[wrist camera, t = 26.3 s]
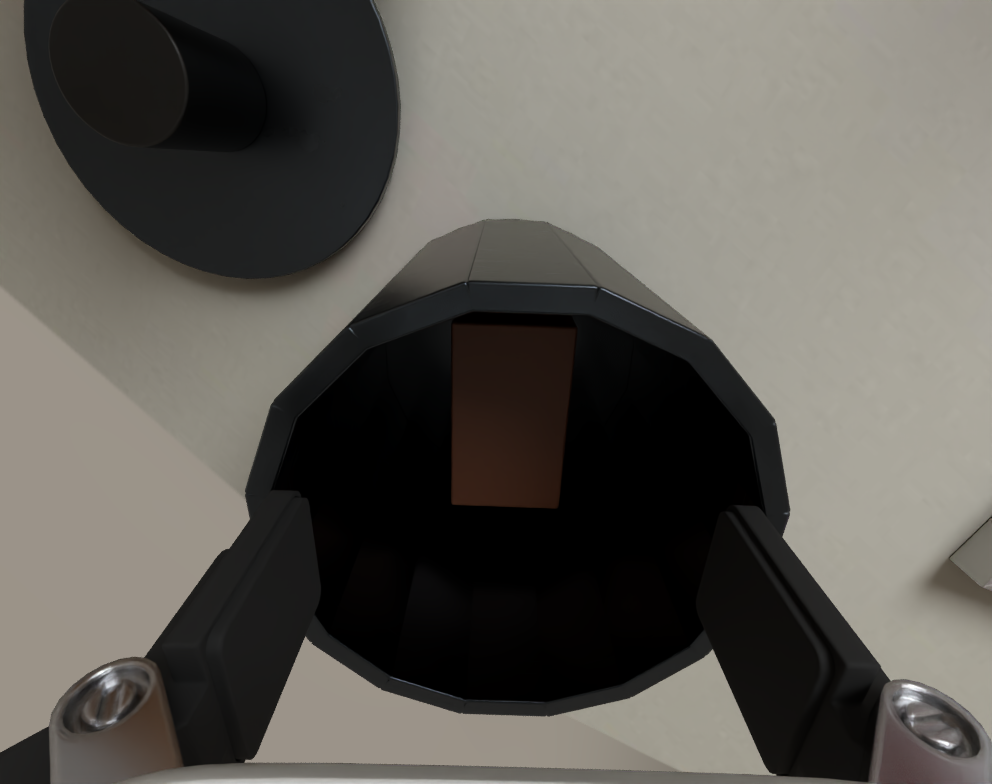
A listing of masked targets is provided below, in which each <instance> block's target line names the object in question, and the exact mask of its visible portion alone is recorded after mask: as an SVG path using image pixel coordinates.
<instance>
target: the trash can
mask: <svg viewBox="0 0 992 784" xmlns="http://www.w3.org/2000/svg"><path fill="white" fill-rule="evenodd" d="M471 312H490V313H516V314H542V315H569V316H572V318H573V320H574V322H575V324H576V326H577V329H578V332H577V341H576V351H575V360H574V369H573V379H572V388H571V397H570V407H569V416H568V425H567V434H566V444H565V453H564V462H563V472H562V481H561V490H560V499H559V507H558V508H557V509H553V508H525V507H497V506H469V505H452V503H451V323H452V320H453V319H455V318H457V317H460V316H463V315H466V314H468V313H471ZM272 490H285V491H298V492H299V493H300V494H301V498H307V499H308V501H309V506H310V513H311V520H312V527H313V534H314V541H315V548H316V555H317V562H318V569H319V576H320V583H321V595H320V600H319V603H318V606H317V609H316V611H315V613H314V616H313V618H312V621H311V623H310V626H309V628H308V630H307V633H306V635H305V636H306V637H307V639H308V640H309V641H310V642H312V644H313V645H315V646H316V647H317V648H319V649H320V650H322V651H323V652H325V653H327V654H328V655H330V656H331V657H333V658H334V659H336V660H337V661H339V662H340V663H342V664H343V665H345V666H346V667H348V668H349V669H351V670H352V671H354V672H355V673H357V674H358V675H360V676H361V677H363V678H364V679H366V680H367V681H369V682H370V683H372V684H373V685H375V686H376V687H378V688H381V689H382V690H384V691H388V692H390V693H394V694H397V695H400V696H404V697H407V698H411V699H414V700H417V701H420V702H424V703H427V704H430V705H434V706H437V707H440V708H443V709H447V710H450V711H453V712H457V713H463V714H486V715H488V714H489V715H517V716H553V715H558V714H562V713H566V712H571V711H575V710H580V709H584V708H588V707H593V706H597V705H602V704H606V703H610V702H615V701H619V700H623V699H628V698H630V697H633V696H635V695H637V694H638V693H640V692H642V691H644V690H646V689H648V688H649V687H651V686H653V685H655V684H657V683H658V682H660V681H662V680H664V679H666V678H668V677H669V676H671V675H673V674H675V673H677V672H678V671H680V670H682V669H684V668H686V667H688V666H689V665H691V664H693V663H695V662H697V661H698V660H700V659H702V658H704V657H705V655H708V654H709V652H710V651H711V650H712V649H713V648H712V646H711V643H710V641H709V639H708V637H707V634H706V632H705V630H704V628H703V625H702V623H701V621H700V619H699V616H698V613H697V609H696V597H697V593H698V590H699V586H700V582H701V579H702V575H703V571H704V567H705V564H706V560H707V556H708V553H709V549H710V545H711V542H712V538H713V534H714V531H715V527H716V523H717V519H718V516H719V514H720V513H721V512H722V511H726V509H727V508H728V507H729V506H731V505H743V506H757V507H759V508H760V509H761V510H762V512H763V513H764V514H765V516H766V517H767V518H768V519H769V521H770V522H771V523H772V525H773V526H774V527H775V529H776V530H777V531H778V533H779V534H780V535H781V536H783V533H784V530H785V527H786V524H787V522H788V519H789V516H790V513H789V512H790V506H789V500H788V493H787V487H786V481H785V475H784V469H783V463H782V457H781V450H780V444H779V438H778V432H777V426H776V423H775V419H774V418H773V416H772V415H771V414H770V413H769V411H768V410H767V409H766V408H765V406H764V405H763V404H762V403H761V401H760V400H759V399H758V397H757V396H756V395H755V394H754V392H753V391H752V390H751V389H750V387H749V386H748V385H747V384H746V382H745V381H744V380H743V378H742V377H741V376H740V375H739V373H738V372H737V371H736V370H735V368H734V367H733V366H732V365H731V363H730V362H729V361H728V359H727V358H726V357H725V356H724V354H723V353H722V352H721V351H720V349H719V348H718V347H717V346H716V344H715V343H714V342H713V340H712V339H710V338H709V337H708V336H707V335H705V334H704V333H703V332H702V331H700V330H699V329H698V328H697V327H696V326H694V325H693V324H692V323H691V322H689V321H688V320H687V319H686V318H684V317H683V316H682V315H681V314H680V313H678V312H677V311H676V310H675V309H673V308H672V307H671V306H670V305H669V304H667V303H666V302H665V301H664V300H662V299H661V298H660V297H659V296H657V295H656V294H655V293H654V292H653V291H651V290H650V289H649V288H648V287H646V286H645V285H644V284H643V283H641V282H640V281H639V280H638V279H637V278H635V277H634V276H633V275H632V274H630V273H629V272H628V271H627V270H626V269H624V268H623V267H622V266H621V265H619V264H618V263H617V262H616V261H614V260H613V259H612V258H611V257H610V256H608V255H607V254H606V253H605V252H603V251H602V250H601V249H600V248H598V247H597V246H595V245H593V244H591V243H589V242H587V241H585V240H582V239H580V238H579V237H577V236H575V235H573V234H572V233H570V232H567V231H565V230H562V229H560V228H558V227H556V226H554V225H552V224H550V223H548V222H543V221H529V220H520V219H500V220H492V219H487V220H482V221H480V222H477V223H475V224H472V225H468V226H465V227H462V228H459V229H457V230H455V231H452V232H450V233H448V234H446V235H444V236H441V237H439V238H436V239H434V240H431V241H430V242H428V243H427V244H426V245H425V246H424V247H423V248H422V249H421V250H420V251H419V252H418V253H417V255H416V256H415V257H414V258H413V259H412V260H411V261H410V262H409V263H408V264H407V265H406V266H405V267H404V268H403V269H402V270H401V271H400V272H399V273H398V274H397V275H396V276H395V277H394V278H393V279H392V280H391V281H390V282H389V283H388V284H387V285H386V286H385V287H384V288H383V289H382V290H381V291H380V292H379V293H378V294H377V295H376V296H375V297H374V298H373V299H372V300H371V301H370V302H369V303H368V304H367V305H366V306H365V307H364V308H363V309H362V310H361V312H360V313H359V314H358V315H357V316H356V317H355V318H354V319H353V320H352V321H351V322H350V323H349V324H348V325H347V326H346V327H345V328H344V329H343V330H342V331H341V332H340V333H339V334H338V335H337V336H336V337H335V338H334V339H333V340H332V341H331V342H330V343H329V344H328V345H327V346H326V347H325V348H324V349H323V350H322V351H321V352H320V353H319V354H318V355H317V356H316V357H315V358H314V359H313V361H312V362H311V363H310V364H309V365H308V366H307V367H306V368H305V369H304V370H303V371H302V372H301V373H300V374H299V375H298V376H297V377H296V378H295V379H294V380H293V381H292V382H291V383H290V384H289V385H288V386H287V387H286V388H285V389H284V390H283V391H282V392H281V393H280V394H279V395H278V396H277V397H276V398H275V399H274V402H273V403H272V404H271V406H270V409H269V413H268V416H267V419H266V422H265V426H264V429H263V432H262V436H261V439H260V442H259V446H258V449H257V452H256V456H255V459H254V462H253V466H252V469H251V472H250V475H249V479H248V482H247V485H246V489H245V492H246V494H245V497H246V502H247V506H248V511H249V517H250V519H251V517H252V516H253V515H254V513H255V512H256V510H257V509H258V508H259V506H260V505H261V503H262V502H263V500H264V499H265V498H266V496H267V495H268V493H269V492H270V491H272Z"/></svg>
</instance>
